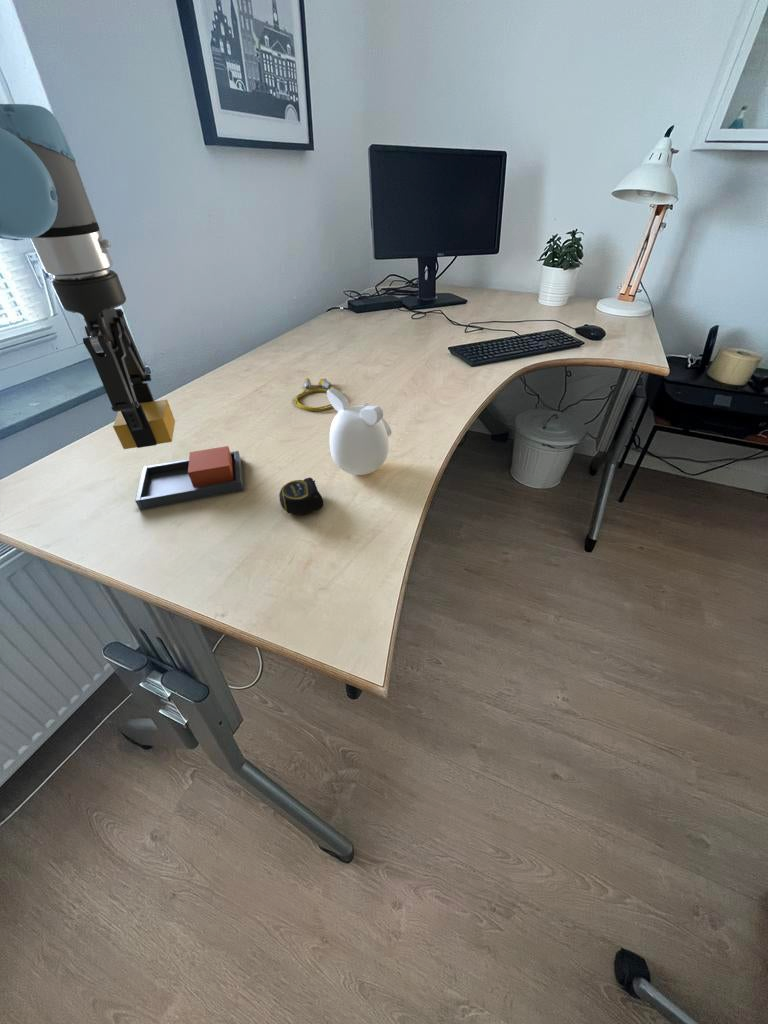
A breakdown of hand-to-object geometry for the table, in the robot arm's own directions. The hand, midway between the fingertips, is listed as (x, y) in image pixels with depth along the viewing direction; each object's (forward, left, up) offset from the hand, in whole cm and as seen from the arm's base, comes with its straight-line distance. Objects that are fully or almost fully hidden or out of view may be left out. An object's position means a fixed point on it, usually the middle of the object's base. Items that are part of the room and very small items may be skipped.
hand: (150, 433), depth 69 cm
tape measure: (+22, -9, -13) cm, 27 cm away
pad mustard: (0, 0, 0) cm, 0 cm away
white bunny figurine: (+34, -1, -13) cm, 36 cm away
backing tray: (+3, +4, -13) cm, 14 cm away
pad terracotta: (+7, +4, -13) cm, 15 cm away
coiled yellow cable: (+32, +32, -13) cm, 47 cm away
